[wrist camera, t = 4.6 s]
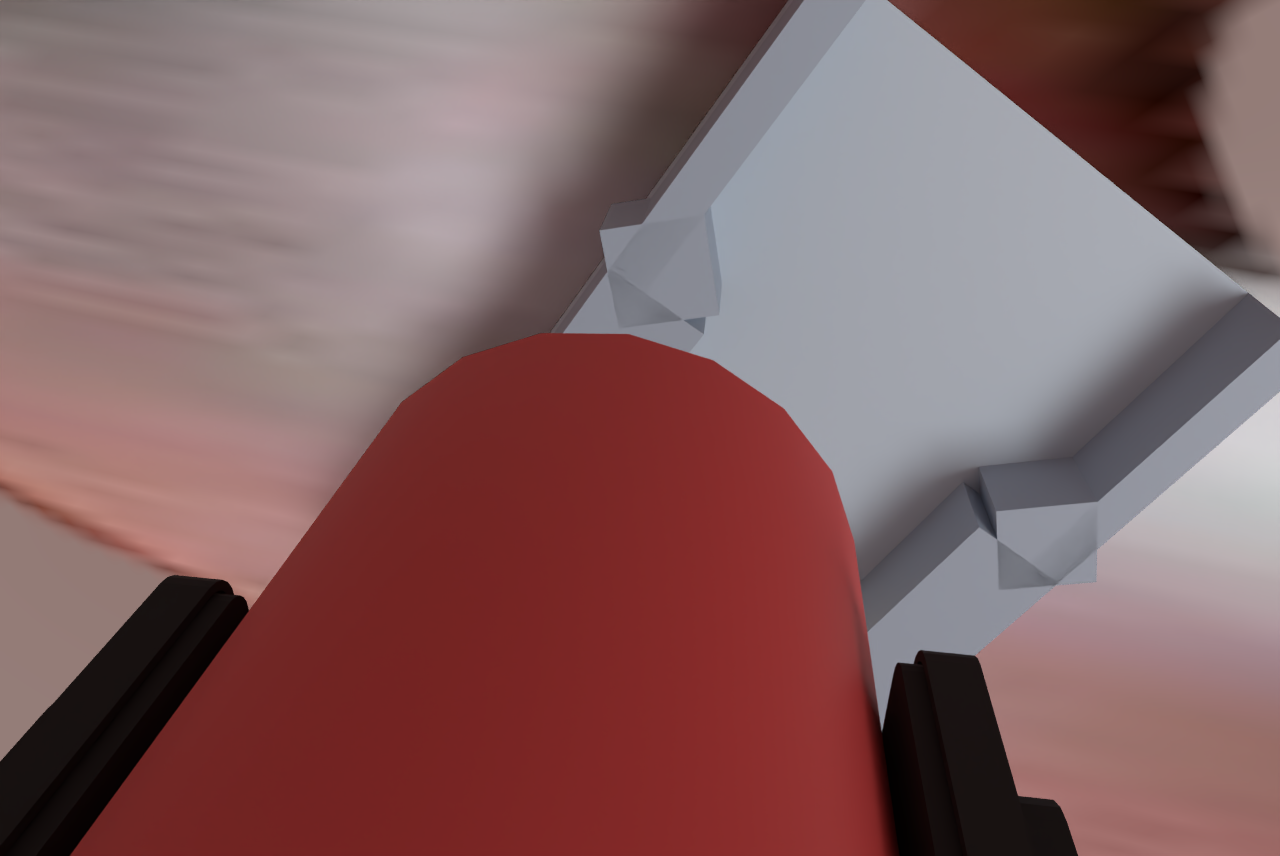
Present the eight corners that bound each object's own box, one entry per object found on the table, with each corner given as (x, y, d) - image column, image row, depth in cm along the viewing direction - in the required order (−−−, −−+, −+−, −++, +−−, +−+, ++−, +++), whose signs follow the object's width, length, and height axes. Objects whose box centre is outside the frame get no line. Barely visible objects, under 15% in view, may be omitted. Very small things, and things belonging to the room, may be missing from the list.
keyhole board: (388, 519, 32) (349, 585, 29) (800, -70, 23) (807, -65, 20) (782, 761, 35) (785, 845, 32) (1275, 315, 26) (1345, 370, 23)
